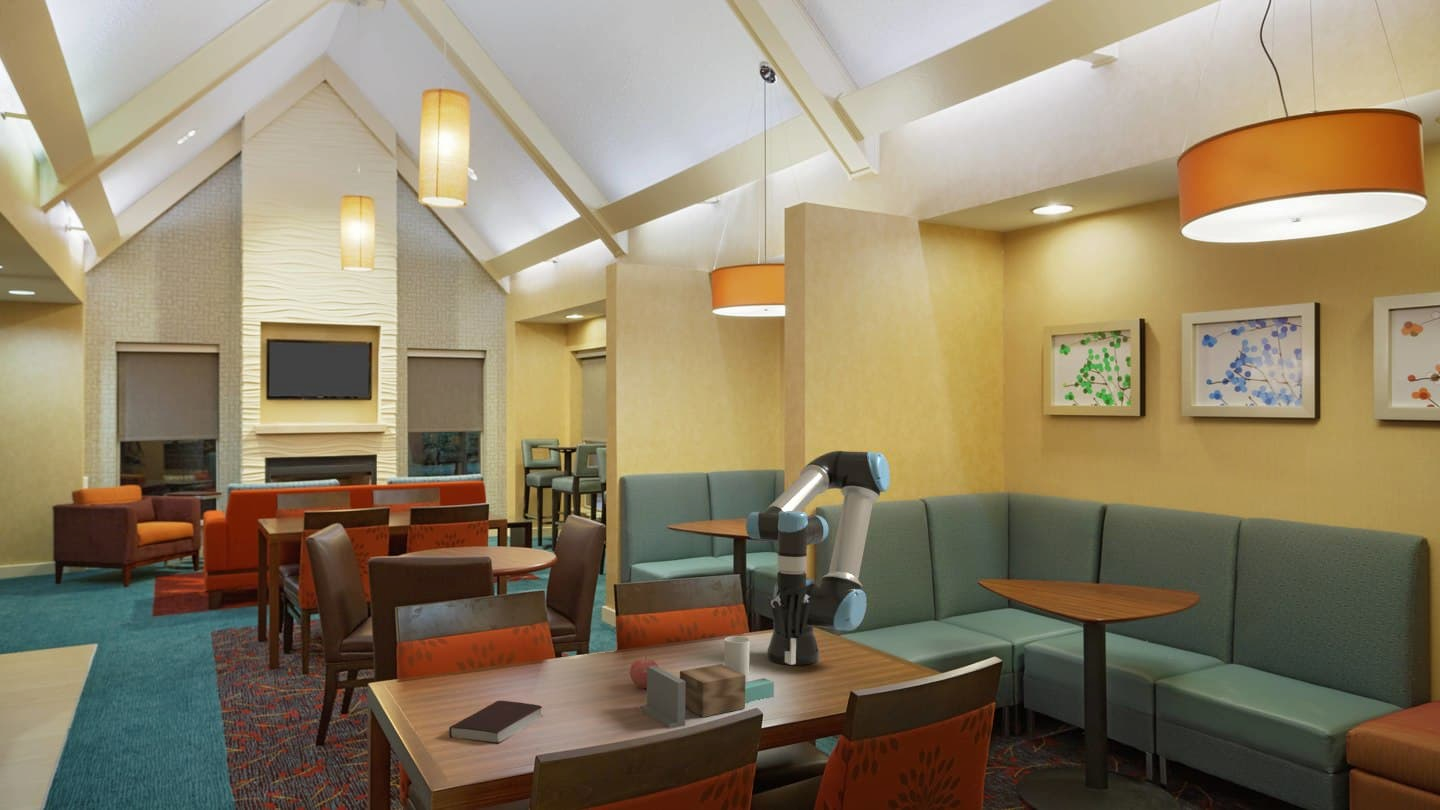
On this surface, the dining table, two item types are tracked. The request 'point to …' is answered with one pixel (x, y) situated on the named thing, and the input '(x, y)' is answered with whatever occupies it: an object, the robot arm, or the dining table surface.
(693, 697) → the block
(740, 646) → the mug
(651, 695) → the wall
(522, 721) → the book
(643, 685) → the apple
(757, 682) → the teal bar
